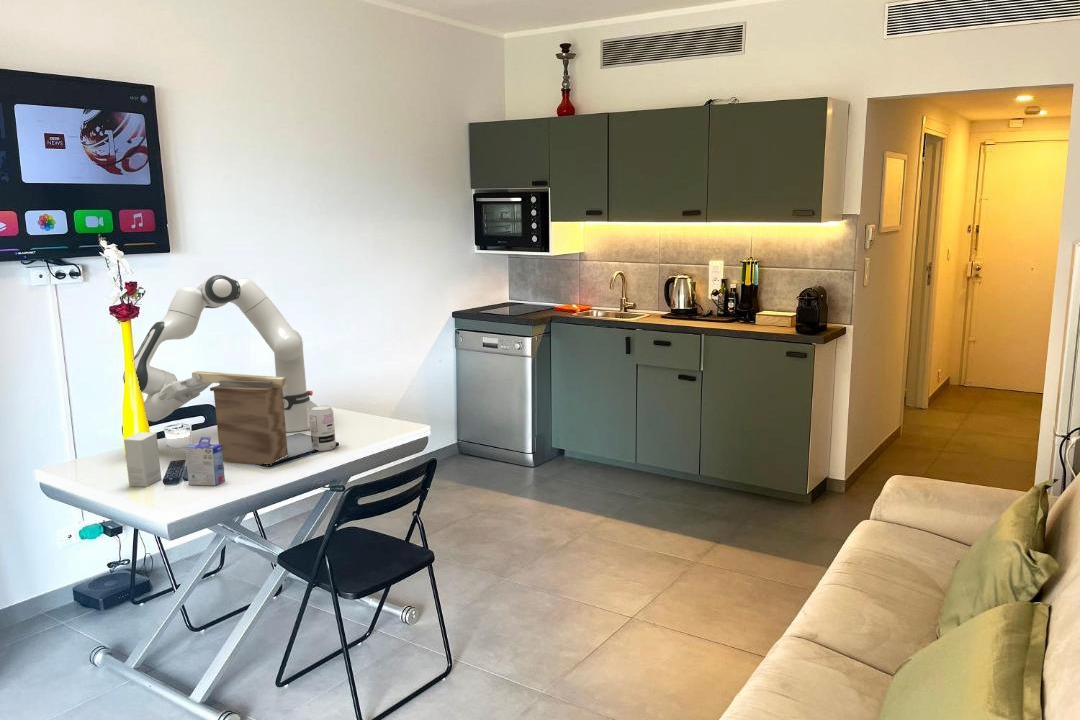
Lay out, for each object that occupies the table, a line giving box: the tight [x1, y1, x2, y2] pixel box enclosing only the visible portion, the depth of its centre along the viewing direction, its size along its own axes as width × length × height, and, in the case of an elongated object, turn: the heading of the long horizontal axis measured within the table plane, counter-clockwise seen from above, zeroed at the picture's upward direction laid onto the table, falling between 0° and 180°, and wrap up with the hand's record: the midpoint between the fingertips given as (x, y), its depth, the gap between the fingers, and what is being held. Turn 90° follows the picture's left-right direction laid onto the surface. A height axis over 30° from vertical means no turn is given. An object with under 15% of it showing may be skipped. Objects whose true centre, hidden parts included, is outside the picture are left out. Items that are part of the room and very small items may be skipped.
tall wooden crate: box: [209, 380, 289, 466], centre depth 287 cm, size 11×22×28 cm, turn 73°
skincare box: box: [123, 431, 162, 488], centre depth 265 cm, size 8×7×16 cm
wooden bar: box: [191, 370, 286, 388], centre depth 285 cm, size 3×35×3 cm, turn 74°
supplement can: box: [309, 405, 337, 452], centre depth 299 cm, size 8×8×15 cm
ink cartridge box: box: [185, 436, 226, 486], centre depth 263 cm, size 10×6×14 cm, turn 78°
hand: (204, 375), depth 289 cm, fingers closed on wooden bar, 3 cm apart
